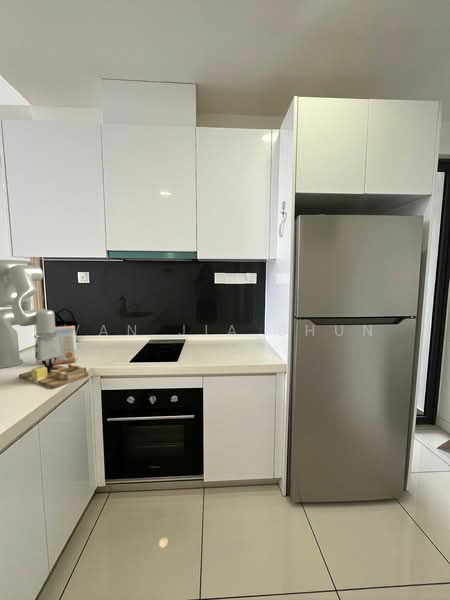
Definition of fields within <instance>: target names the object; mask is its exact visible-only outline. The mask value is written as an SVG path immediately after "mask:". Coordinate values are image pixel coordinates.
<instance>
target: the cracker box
mask: <svg viewBox="0 0 450 600" xmlns="http://www.w3.org/2000/svg"><path fill="white" fill-rule="evenodd" d="M55 330H56V337H58V339H59V342H60V347H61V355H60V358H58V359H56V360H55V362H54V364H55V365H61V364H73V363H76V362H77V360H78V352H77V351H78V350H77V337H76V326H75V325H68V326H67V325H65V326H55ZM48 361H49V360H48ZM54 364H53V365H54Z"/></svg>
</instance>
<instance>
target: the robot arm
mask: <svg viewBox="0 0 450 600" xmlns="http://www.w3.org/2000/svg"><path fill="white" fill-rule="evenodd" d="M43 278H44V271H43V270H42V268H41V267H40V266H39V265H38V264H36V263H34V262H31V261H28V260H22V259H21V260H18V259H17V260H16V259H0V308H6V309H0V369H3V368H4V369H5V368H11V367H17V366H19V365H21V364H23V363H24V360H23V359H21V357H20V347H19V334H18V332H17V330H16V329H15V328H14V326H17V325H18V326H20V327H30V326H35V325H36V335H34V336H33V337H34V339H36V341H35V346H34V357H35V363H36V364H43V365H44V367H46V368H47V373H50V370H52V369H53V364H54V362H55V360H56V359H58V358H60V355H61V347H60V342H59V339H58V337H56V330H55V327H56V321H55V320H56V319H55V311H54V310H51V309H49V310H48V309H46V308H38V309H32V299H31V297H33V296H34V295H36V294H37V293H38V288H37V286H36V285H35V282H38V281H40V282H41V280H43ZM12 326H13V327H12ZM48 360H49V361H48Z"/></svg>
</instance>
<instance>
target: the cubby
mask: <svg viewBox="0 0 450 600" xmlns="http://www.w3.org/2000/svg"><path fill="white" fill-rule="evenodd" d="M67 364H68V365H67V368H68V370H70V371H73V372H70V373H64V372H60V371H56V370H53V369H52V370H50V376H52V377H55V378H59V379H62V380H66V381H67V380H70V379H73V378H76V377H78V376H81V375H84V374H86V373H87V368H86V367H84V366H80V365H76V364H73V363H67Z"/></svg>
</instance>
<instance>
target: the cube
mask: <svg viewBox="0 0 450 600" xmlns="http://www.w3.org/2000/svg"><path fill="white" fill-rule="evenodd" d="M31 371H32V378H33V379H36V380H39V379H42V378H45V377H48V375H47V368H46V367H45V366H38V367H35V368H31Z"/></svg>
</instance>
